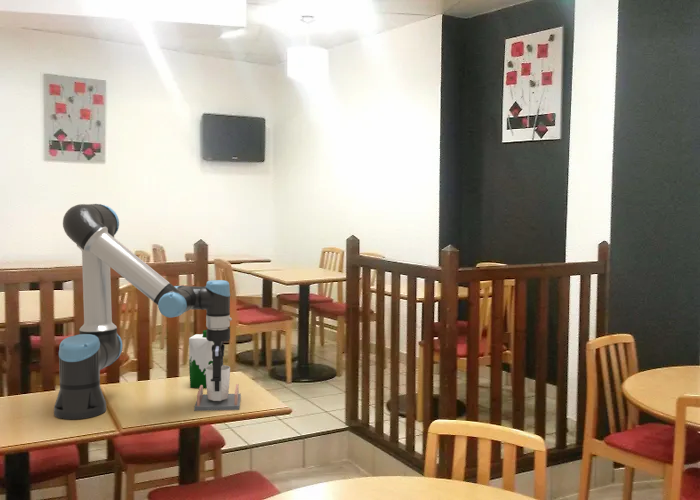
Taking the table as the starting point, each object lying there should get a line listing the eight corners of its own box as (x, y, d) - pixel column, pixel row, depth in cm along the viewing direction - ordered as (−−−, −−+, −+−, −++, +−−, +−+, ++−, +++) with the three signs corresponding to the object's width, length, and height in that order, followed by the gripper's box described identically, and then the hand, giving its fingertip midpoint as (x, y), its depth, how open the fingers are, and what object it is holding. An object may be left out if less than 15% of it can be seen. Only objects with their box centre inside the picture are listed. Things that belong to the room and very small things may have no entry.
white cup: (227, 401, 219) (227, 371, 218) (202, 401, 219) (203, 370, 218) (232, 394, 227) (232, 365, 226) (208, 394, 227) (208, 364, 226)
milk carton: (211, 389, 240) (211, 333, 238) (186, 388, 240) (186, 332, 239) (218, 382, 248) (218, 328, 247) (194, 381, 249) (194, 327, 248)
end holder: (194, 410, 215) (194, 396, 215) (198, 397, 229) (198, 384, 229) (239, 409, 217) (239, 395, 217) (240, 397, 231) (240, 383, 230)
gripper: (228, 334, 211) (228, 406, 213) (231, 322, 232) (231, 388, 233) (203, 334, 211) (203, 406, 212) (209, 322, 231) (209, 388, 232)
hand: (218, 396), depth 223 cm, fingers open, 8 cm apart
